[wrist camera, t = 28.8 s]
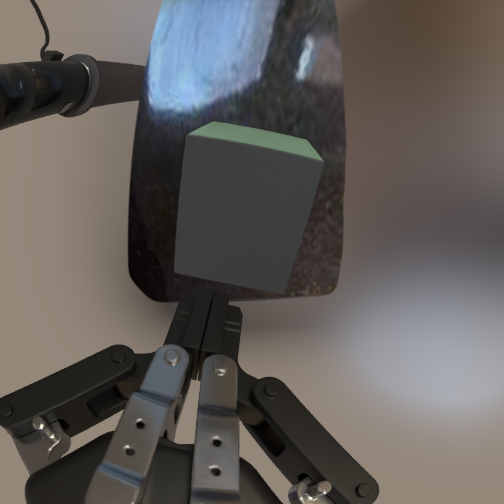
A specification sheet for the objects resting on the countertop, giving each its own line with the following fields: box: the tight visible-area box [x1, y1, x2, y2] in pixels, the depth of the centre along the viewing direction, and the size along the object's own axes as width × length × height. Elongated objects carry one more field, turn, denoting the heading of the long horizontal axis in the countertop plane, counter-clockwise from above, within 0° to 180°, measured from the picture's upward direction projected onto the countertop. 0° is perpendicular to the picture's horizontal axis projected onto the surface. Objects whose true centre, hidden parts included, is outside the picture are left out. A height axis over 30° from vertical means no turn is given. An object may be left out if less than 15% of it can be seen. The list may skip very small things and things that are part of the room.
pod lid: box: [174, 134, 324, 294], centre depth 30 cm, size 16×14×1 cm
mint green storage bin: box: [189, 121, 323, 161], centre depth 36 cm, size 16×14×13 cm
